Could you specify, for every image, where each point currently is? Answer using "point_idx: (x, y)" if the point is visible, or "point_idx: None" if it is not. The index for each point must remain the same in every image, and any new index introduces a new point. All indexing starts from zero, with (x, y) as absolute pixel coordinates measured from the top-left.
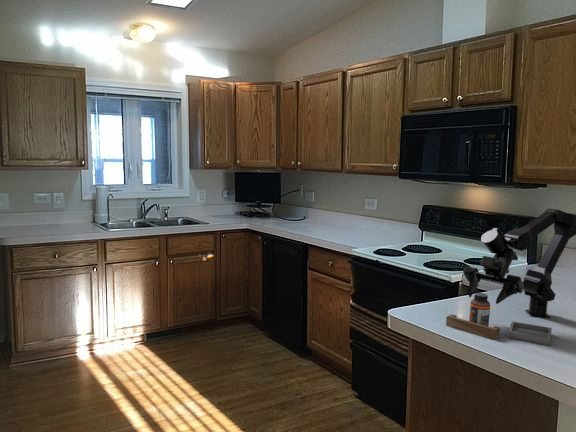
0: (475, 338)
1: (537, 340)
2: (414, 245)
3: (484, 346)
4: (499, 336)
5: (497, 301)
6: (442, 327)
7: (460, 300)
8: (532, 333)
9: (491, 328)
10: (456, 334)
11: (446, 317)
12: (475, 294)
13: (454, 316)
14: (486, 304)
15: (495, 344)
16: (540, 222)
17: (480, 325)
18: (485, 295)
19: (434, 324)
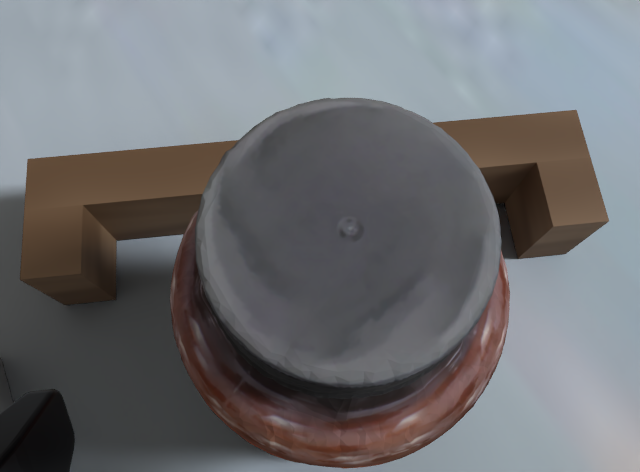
0: (190, 99)
1: None
2: None
3: (56, 16)
4: (62, 302)
5: (16, 405)
6: (513, 92)
7: None
8: None
9: (74, 171)
10: (336, 52)
11: (571, 116)
12: (417, 116)
13: (541, 182)
14: (185, 231)
15: (13, 115)
16: None
17: (197, 158)
18: (233, 235)
19: (602, 97)
